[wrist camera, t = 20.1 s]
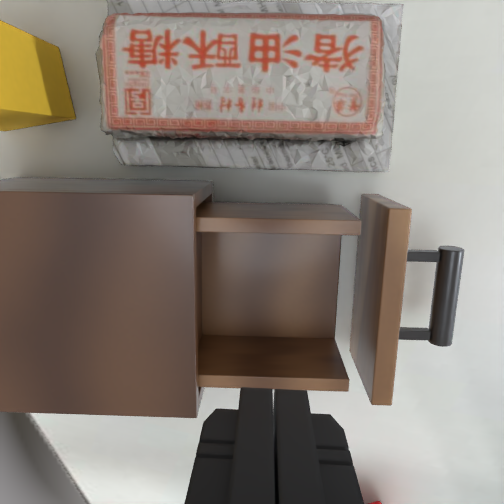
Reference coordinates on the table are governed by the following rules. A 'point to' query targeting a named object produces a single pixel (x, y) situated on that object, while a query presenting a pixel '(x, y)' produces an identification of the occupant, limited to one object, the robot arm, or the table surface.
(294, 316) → the drawer
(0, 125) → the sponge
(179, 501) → the table surface
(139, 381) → the cabinet
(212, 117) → the packaged product
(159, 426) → the table surface
